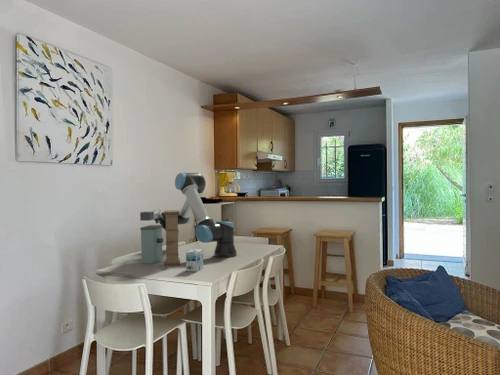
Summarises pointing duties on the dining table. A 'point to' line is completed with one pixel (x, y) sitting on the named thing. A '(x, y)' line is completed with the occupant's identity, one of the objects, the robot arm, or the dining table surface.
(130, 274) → the dining table surface
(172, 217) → the tall stand
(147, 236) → the blue lidded container
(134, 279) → the dining table surface
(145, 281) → the dining table surface
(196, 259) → the light bulb box
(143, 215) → the crank handle
